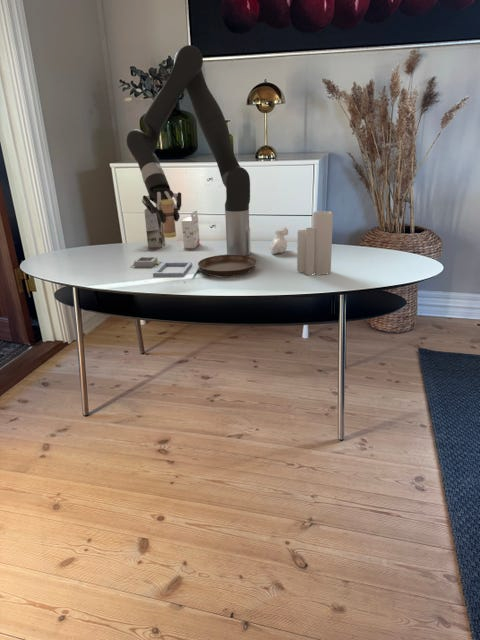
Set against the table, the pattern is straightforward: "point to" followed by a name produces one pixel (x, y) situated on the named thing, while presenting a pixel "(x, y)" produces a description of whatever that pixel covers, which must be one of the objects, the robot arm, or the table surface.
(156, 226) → the coffee box
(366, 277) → the table surface
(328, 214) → the vase
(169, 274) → the parts tray
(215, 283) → the table surface
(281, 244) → the bust
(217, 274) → the plant saucer
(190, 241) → the ink cartridge box
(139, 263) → the fuse block
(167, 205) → the cylinder
